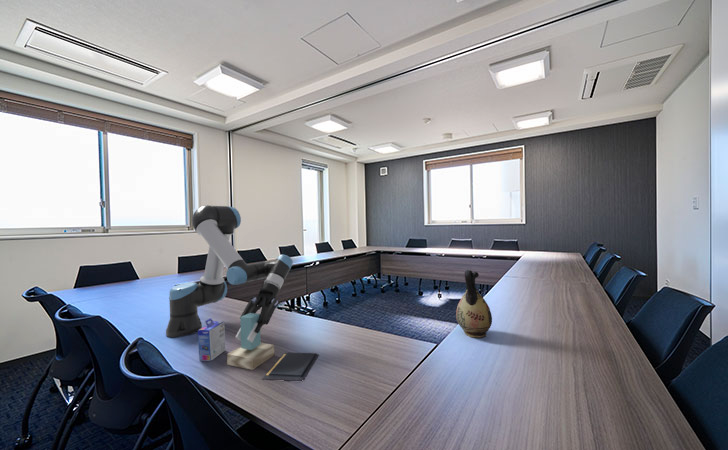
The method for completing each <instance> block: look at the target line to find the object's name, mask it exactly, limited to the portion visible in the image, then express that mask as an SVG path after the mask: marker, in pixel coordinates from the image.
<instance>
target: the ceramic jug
mask: <svg viewBox="0 0 728 450" xmlns="http://www.w3.org/2000/svg"><path fill="white" fill-rule="evenodd" d="M478 277H479V273H478V271H474V272H473V271H472V269H466V270H465V271H464V280H465V286H466V291H465V292H464V293H463V295H462V297H461V298H460V300H459V302H458V304H457V307H456V311H455V312H456V313H455V318H456V321H457V324H458V326H459V327H460V328H461V329H462V331H463V332H464V334H465V335H466V336H468V337H470V338H485V337H486V336H487V332H488V331H489V330H490V329H491V326H492V323H493V317H492V312H491V308H490V306H489V304H488V303H487V301H486V300H485V298H484V296H482V294H481V293H480V292H479V291H478V289H477V288H476V278H478ZM484 336H485V337H484Z"/></svg>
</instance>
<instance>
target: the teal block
mask: <svg viewBox="0 0 728 450" xmlns="http://www.w3.org/2000/svg"><path fill="white" fill-rule="evenodd" d="M259 316H260V313H249V314H246V315H244V316H242V317H241V316H240V317H239V319H240V325H241V341H240V347H241V348H243V349H249V350H252V349H254V348H256V347H257V346H259V345H261V343H262V342H261V330H260V331H259V333H257V334H256V336H255V338H254V340H253V342H250V341H249V340H247V338H248V336H249V334H250V332H251V331H252V329H253V327H254V325H255V323H258V322H257V321H258V320H259Z"/></svg>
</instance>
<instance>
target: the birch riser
mask: <svg viewBox="0 0 728 450" xmlns="http://www.w3.org/2000/svg"><path fill="white" fill-rule="evenodd" d="M274 355H275V344H270V343H264V342H261V345H259V346H257V347H256V348H254V349H252V350H249V349H243V348H241V346H239V347H238V348H235V349H234V350H232V351H230V352H228V353H227V354H226V359H227V361H226V364H227V365H228V366H232V367H237V368H241V369H247V370H254V369H256V368H257V367H259V366H260V365H262V364H263V363H265V362H266V361H267V360H269V359H271V358H272V357H274Z"/></svg>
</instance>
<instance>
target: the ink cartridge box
mask: <svg viewBox="0 0 728 450" xmlns="http://www.w3.org/2000/svg"><path fill="white" fill-rule="evenodd" d="M204 322H205V326H202V328H201V329H199V330H198V332H197V341H198V357H199V361H200V362H211V361H213V360H215V358H217V357H218V356H220V355H221V354H222V353H223V352H225V351H226V350H227V349H226V331H225V321H219V320H218V321H217V320H215V321H213V319H212V318H211V317H210V318H208V319H207V320H205V321H204Z"/></svg>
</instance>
